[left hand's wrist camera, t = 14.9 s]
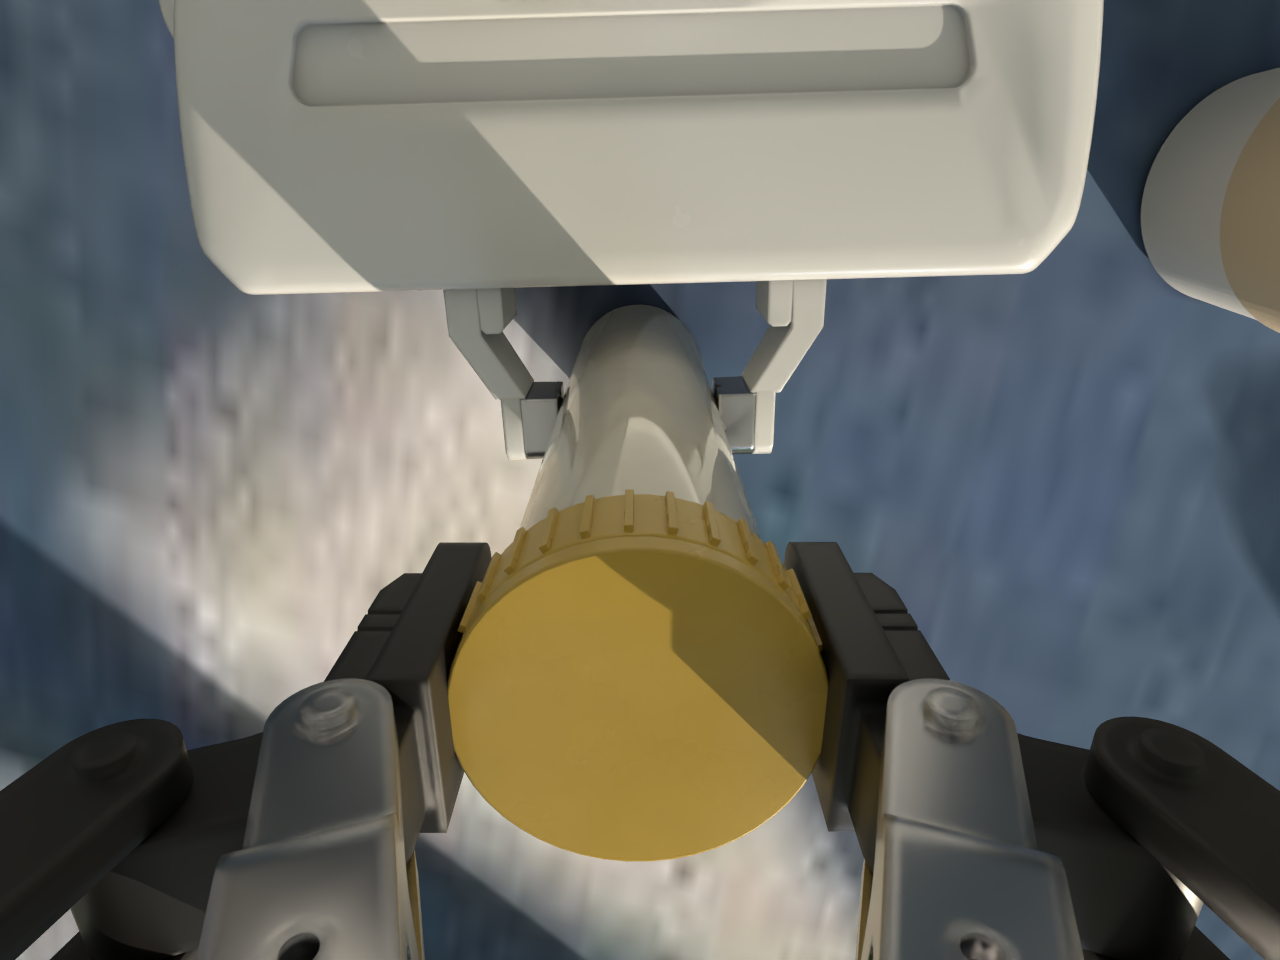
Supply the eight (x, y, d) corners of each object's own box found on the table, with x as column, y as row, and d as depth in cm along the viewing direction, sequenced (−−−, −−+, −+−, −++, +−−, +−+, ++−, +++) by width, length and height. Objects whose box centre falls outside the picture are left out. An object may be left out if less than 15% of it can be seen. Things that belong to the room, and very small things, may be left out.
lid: (870, 684, 11) (906, 763, 10) (595, 825, 12) (589, 917, 11) (692, 417, 10) (703, 462, 8) (395, 603, 11) (354, 674, 9)
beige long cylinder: (719, 390, 27) (853, 750, 10) (614, 443, 27) (577, 861, 11) (664, 281, 25) (714, 491, 9) (555, 340, 26) (407, 638, 9)
